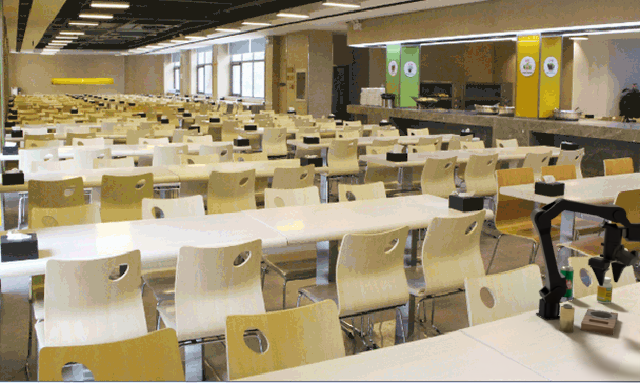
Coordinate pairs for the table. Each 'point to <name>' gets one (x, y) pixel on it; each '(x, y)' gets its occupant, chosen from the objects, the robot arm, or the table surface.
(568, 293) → the soda can
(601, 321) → the socket block
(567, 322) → the tan salt shaker
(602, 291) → the supplement bottle
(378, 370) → the table surface
